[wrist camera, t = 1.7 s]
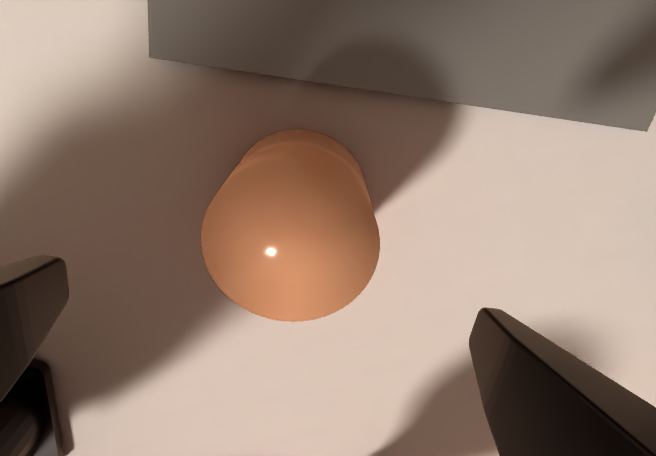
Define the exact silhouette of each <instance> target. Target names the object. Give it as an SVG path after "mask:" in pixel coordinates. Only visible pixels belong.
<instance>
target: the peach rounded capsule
mask: <svg viewBox="0 0 656 456" xmlns="http://www.w3.org/2000/svg"><path fill="white" fill-rule="evenodd" d="M201 248H202V253H203V258H204V261H205V264H206V267H207V269H208V271H209V273H210V275H211V277H212V278H213V280H214V281H215V283H216V284H217V286H218V287H219V288H220V289H221V290H222V291H223V292H224V294H225V295H227V296H228V297H229V298H230V299H231V300H232V301H234V302H235V303H236V304H238V305H239V306H241V307H242V308H244V309H246V310H248V311H250V312H252V313H254V314H257V315H259V316H262V317H266V318H269V319H274V320H280V321H292V322H294V321H307V320H313V319H317V318H321V317H324V316H327V315H329V314H332V313H334V312H336V311H338V310H340V309H342V308H343V307H345V306H346V305H348V304H349V303H350V302H352V301H353V300H354V299H355V298H356V297H357V296H358V295H359V294H360V293H361V292H362V291H363V289H364V288H365V287H366V286H367V284H368V282H369V281H370V279H371V277H372V275H373V273H374V271H375V269H376V265H377V262H378V257H379V250H380V237H379V231H378V226H377V222H376V219H375V215H374V212H373V208H372V205H371V201H370V198H369V194H368V191H367V187H366V184H365V180H364V177H363V174H362V171H361V169H360V167H359V165H358V163H357V162H356V160H355V158H354V157H353V156H352V155H351V153H350V152H349V151H348V150H347V149H346V148H345V147H344V146H343V145H341V144H340V143H339V142H337V141H336V140H334V139H332V138H330V137H328V136H326V135H324V134H321V133H318V132H315V131H310V130H301V129H295V130H286V131H281V132H277V133H274V134H271V135H269V136H267V137H265V138H263V139H262V140H260V141H259V142H258V143H256V144H255V145H254V146H253V147H252V148H251V149H249V151H248V152H247V153H246V154H245V155H244V157H243V158H242V159H241V161H240V162H239V164H238V165H237V166H236V168H235V169H234V170H233V172H232V173H231V174H230V176H229V177H228V179H227V180H226V181H225V183H224V184H223V185H222V187H221V188H220V189H219V191H218V192H217V194H216V195H215V196H214V198H213V200H212V201H211V203H210V205H209V206H208V209H207V211H206V214H205V216H204V220H203V224H202V230H201Z"/></svg>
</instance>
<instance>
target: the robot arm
mask: <svg viewBox="0 0 656 456" xmlns="http://www.w3.org/2000/svg"><path fill="white" fill-rule="evenodd" d="M68 297H69V287H68V279H67V271H66V265H65V262H64V260H63V259H61V258H59V257H51V256H37V257H33V258H30V259H26V260H23V261H19V262H15V263H12V264H8V265H5V266H1V267H0V456H64V451H63V445H62V439H61V433H60V427H59V421H58V415H57V409H56V403H55V397H54V391H53V385H52V379H51V373H50V369H49V366H48V365H47V364H46V363H44V362H43V361H40V360H36V359H33V357H34V356H35V354H36V352H37V351H38V349H39V348H40V346H41V344H42V343H43V341H44V339H45V338H46V336H47V334H48V333H49V331H50V329H51V328H52V326H53V324H54V323H55V321H56V320H57V318H58V316H59V315H60V313H61V311H62V310H63V308H64V306H65V305H66V303H67V300H68ZM469 348H470V353H471V357H472V361H473V366H474V370H475V374H476V379H477V383H478V387H479V392H480V396H481V400H482V404H483V408H484V411H485V414H486V417H487V421H488V423H489V426H490V429H491V432H492V435H493V438H494V441H495V443H496V446H497V449H498V452H499V455H500V456H656V407H654V406H652V405H651V404H649V403H648V402H646V401H645V400H643V399H641V398H640V397H638V396H637V395H635V394H633V393H632V392H630V391H629V390H627V389H626V388H624V387H622V386H621V385H619V384H618V383H616V382H615V381H613V380H611V379H610V378H608V377H607V376H605V375H603V374H602V373H600V372H599V371H597V370H596V369H594V368H592V367H591V366H589V365H588V364H586V363H584V362H583V361H581V360H580V359H578V358H577V357H575V356H573V355H572V354H570V353H569V352H567V351H565V350H564V349H562V348H561V347H559V346H558V345H556V344H554V343H553V342H551V341H550V340H548V339H547V338H545V337H543V336H542V335H540V334H539V333H537V332H535V331H534V330H532V329H531V328H529V327H528V326H526V325H524V324H523V323H521V322H520V321H518V320H516V319H515V318H513V317H512V316H510V315H509V314H507V313H505V312H504V311H502V310H500V309H494V308H482V309H480V311H479V312H478V314H477V317H476V320H475V323H474V326H473V329H472V332H471V335H470V338H469Z"/></svg>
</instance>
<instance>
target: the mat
mask: <svg viewBox="0 0 656 456" xmlns="http://www.w3.org/2000/svg"><path fill="white" fill-rule="evenodd" d="M148 26H149V57H150V58H156V59H163V60H170V61H177V62H183V63H190V64H197V65H203V66H210V67H217V68H224V69H230V70H237V71H244V72H250V73H257V74H264V75H270V76H277V77H284V78H291V79H297V80H304V81H311V82H317V83H324V84H331V85H338V86H344V87H351V88H358V89H364V90H371V91H378V92H385V93H391V94H398V95H405V96H411V97H418V98H425V99H431V100H438V101H445V102H452V103H458V104H465V105H472V106H478V107H485V108H492V109H499V110H505V111H512V112H519V113H525V114H532V115H539V116H546V117H552V118H559V119H566V120H572V121H579V122H586V123H592V124H599V125H606V126H613V127H619V128H626V129H633V130H639V131H646V132H647V131H648V128H649V126H650V124H651V122H652V120H653V117H654V115H655V113H656V0H148Z"/></svg>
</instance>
